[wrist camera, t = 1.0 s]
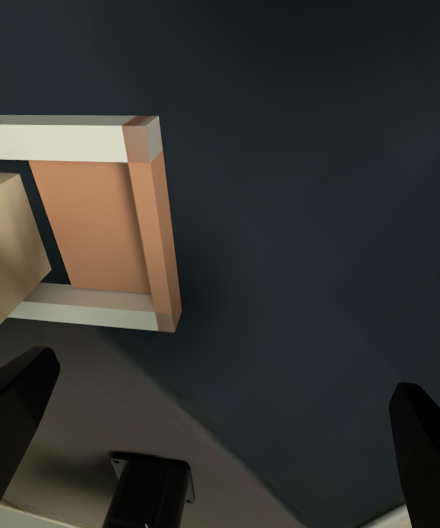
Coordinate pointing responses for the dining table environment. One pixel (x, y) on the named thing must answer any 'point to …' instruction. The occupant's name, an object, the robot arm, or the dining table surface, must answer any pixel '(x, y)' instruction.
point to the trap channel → (101, 218)
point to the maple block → (18, 246)
